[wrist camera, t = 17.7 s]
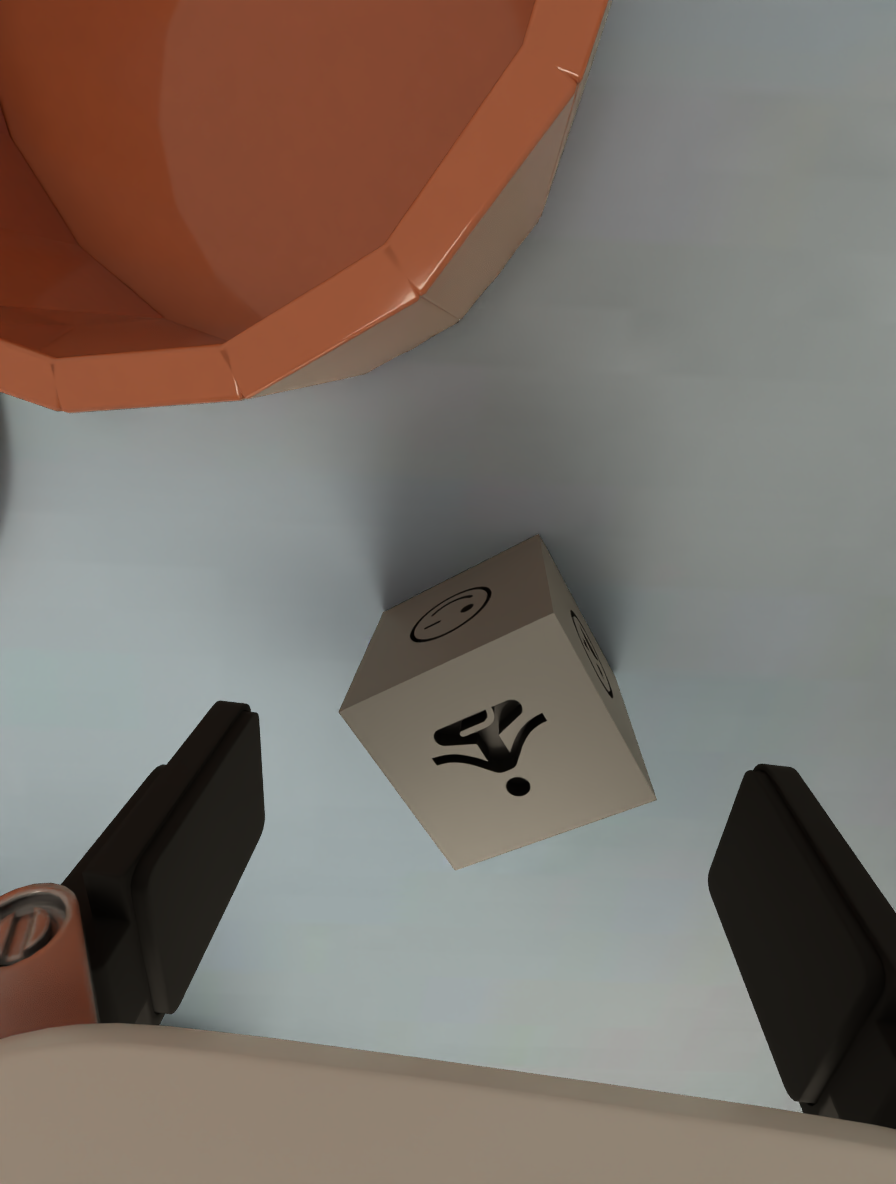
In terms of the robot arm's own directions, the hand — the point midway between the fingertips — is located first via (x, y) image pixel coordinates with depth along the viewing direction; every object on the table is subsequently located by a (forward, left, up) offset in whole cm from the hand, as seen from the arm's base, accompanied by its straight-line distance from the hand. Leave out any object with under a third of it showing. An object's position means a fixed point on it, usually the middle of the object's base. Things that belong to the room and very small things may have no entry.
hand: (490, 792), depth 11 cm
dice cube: (0, 0, -6) cm, 6 cm away
